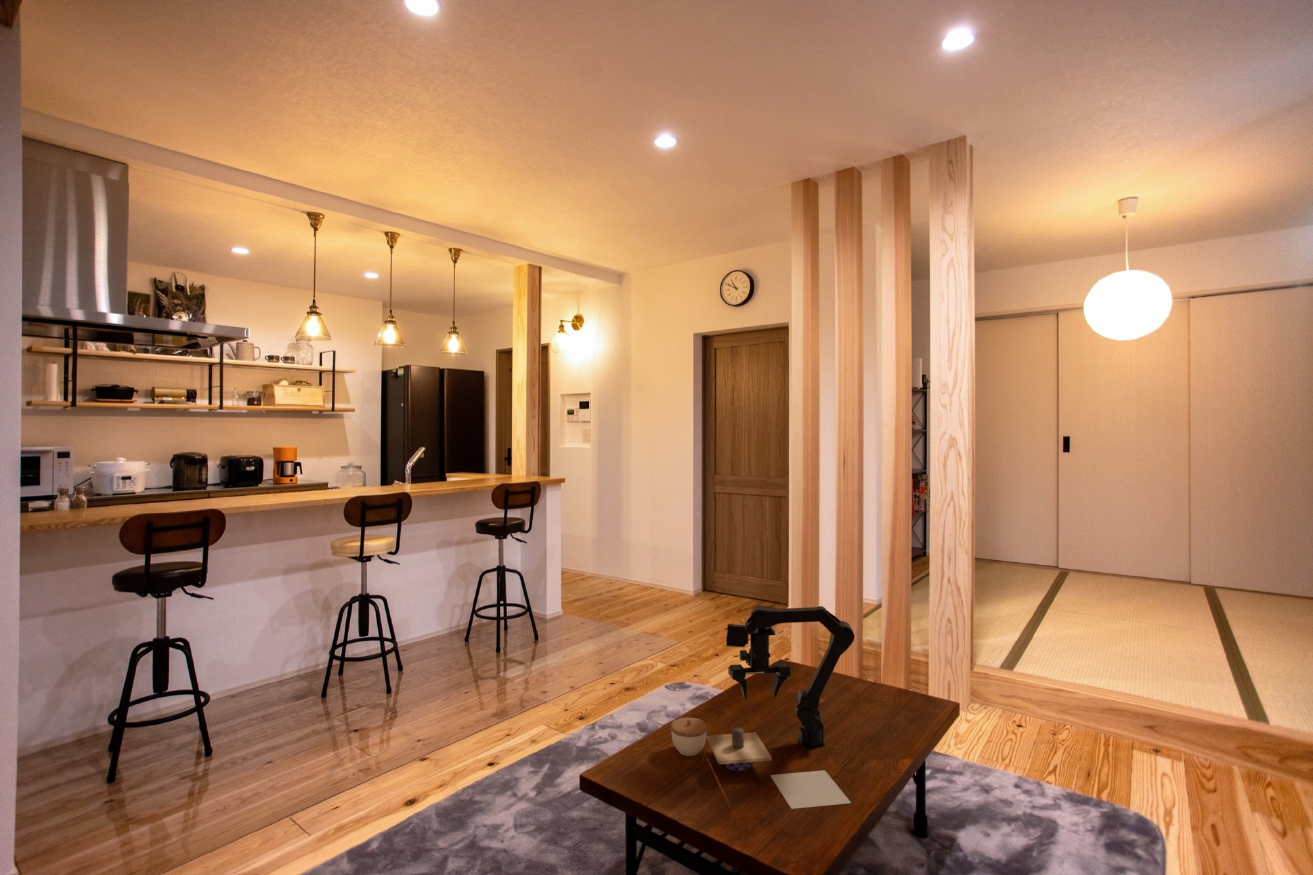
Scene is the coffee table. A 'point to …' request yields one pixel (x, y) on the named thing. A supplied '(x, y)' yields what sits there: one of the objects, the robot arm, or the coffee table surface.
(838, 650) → the robot arm
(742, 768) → the purple round dome
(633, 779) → the coffee table surface
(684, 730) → the lidded jar
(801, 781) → the mat
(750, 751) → the lid
